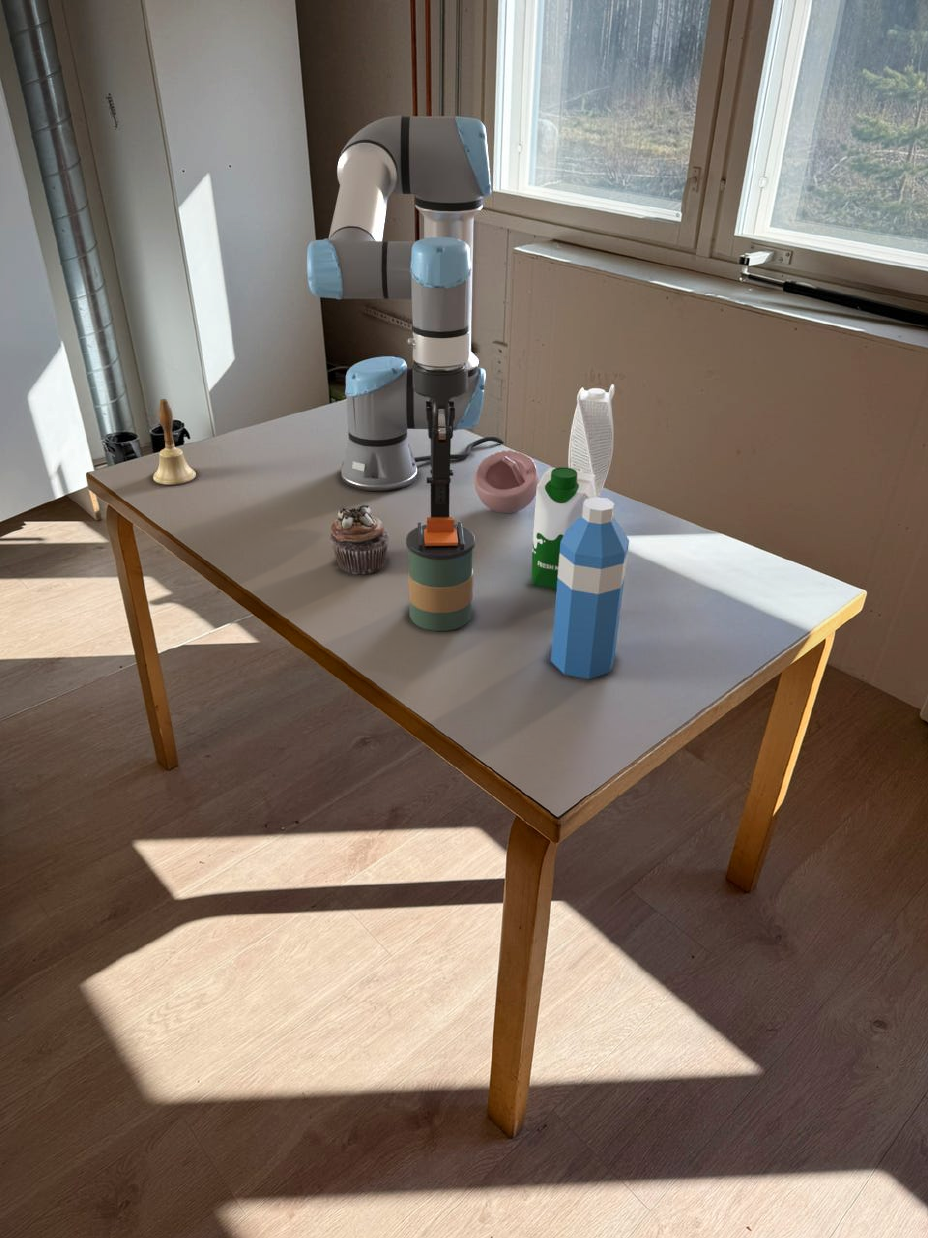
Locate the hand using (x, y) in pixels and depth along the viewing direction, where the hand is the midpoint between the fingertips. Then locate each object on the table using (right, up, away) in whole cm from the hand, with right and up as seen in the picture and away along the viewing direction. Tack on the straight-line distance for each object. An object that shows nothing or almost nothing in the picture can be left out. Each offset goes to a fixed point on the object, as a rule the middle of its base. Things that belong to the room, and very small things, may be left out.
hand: (439, 519), depth 137 cm
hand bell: (-55, +14, +48) cm, 74 cm away
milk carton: (+19, -8, +17) cm, 27 cm away
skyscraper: (+25, +1, +31) cm, 40 cm away
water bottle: (+21, -21, -3) cm, 30 cm away
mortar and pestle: (+11, +6, +38) cm, 40 cm away
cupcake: (-14, -5, +20) cm, 25 cm away
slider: (0, -3, -1) cm, 3 cm away
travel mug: (0, -14, +7) cm, 16 cm away
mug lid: (0, -3, 0) cm, 4 cm away
